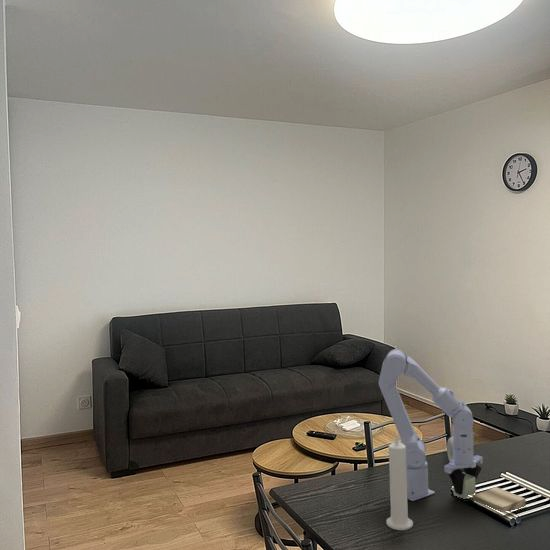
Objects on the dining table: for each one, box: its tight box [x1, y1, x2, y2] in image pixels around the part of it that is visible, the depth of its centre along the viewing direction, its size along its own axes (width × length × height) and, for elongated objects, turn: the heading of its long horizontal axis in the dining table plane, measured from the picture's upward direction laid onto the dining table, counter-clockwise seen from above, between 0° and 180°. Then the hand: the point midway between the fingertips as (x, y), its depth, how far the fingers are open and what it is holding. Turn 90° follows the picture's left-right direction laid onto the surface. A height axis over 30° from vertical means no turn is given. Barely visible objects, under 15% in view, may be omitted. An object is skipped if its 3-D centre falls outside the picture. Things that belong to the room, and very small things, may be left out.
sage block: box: [453, 472, 477, 500], centre depth 172 cm, size 4×4×6 cm
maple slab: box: [472, 486, 527, 512], centre depth 165 cm, size 10×10×3 cm
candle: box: [386, 433, 414, 531], centre depth 155 cm, size 7×7×25 cm
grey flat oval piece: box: [446, 435, 454, 463], centre depth 195 cm, size 10×4×10 cm, turn 179°
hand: (464, 491), depth 172 cm, fingers closed on sage block, 4 cm apart
